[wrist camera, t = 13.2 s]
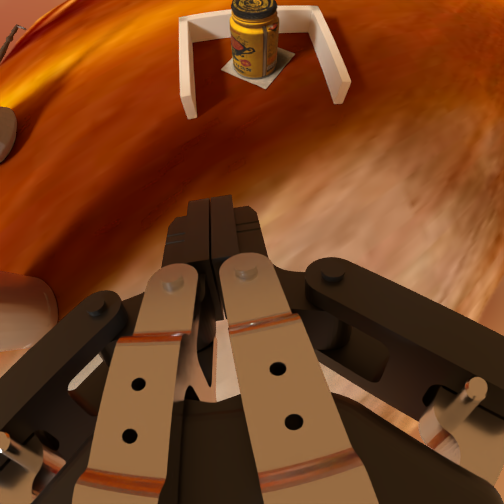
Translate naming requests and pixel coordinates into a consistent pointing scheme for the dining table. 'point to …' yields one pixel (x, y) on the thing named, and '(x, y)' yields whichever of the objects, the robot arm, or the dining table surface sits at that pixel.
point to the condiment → (256, 42)
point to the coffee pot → (7, 112)
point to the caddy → (289, 22)
